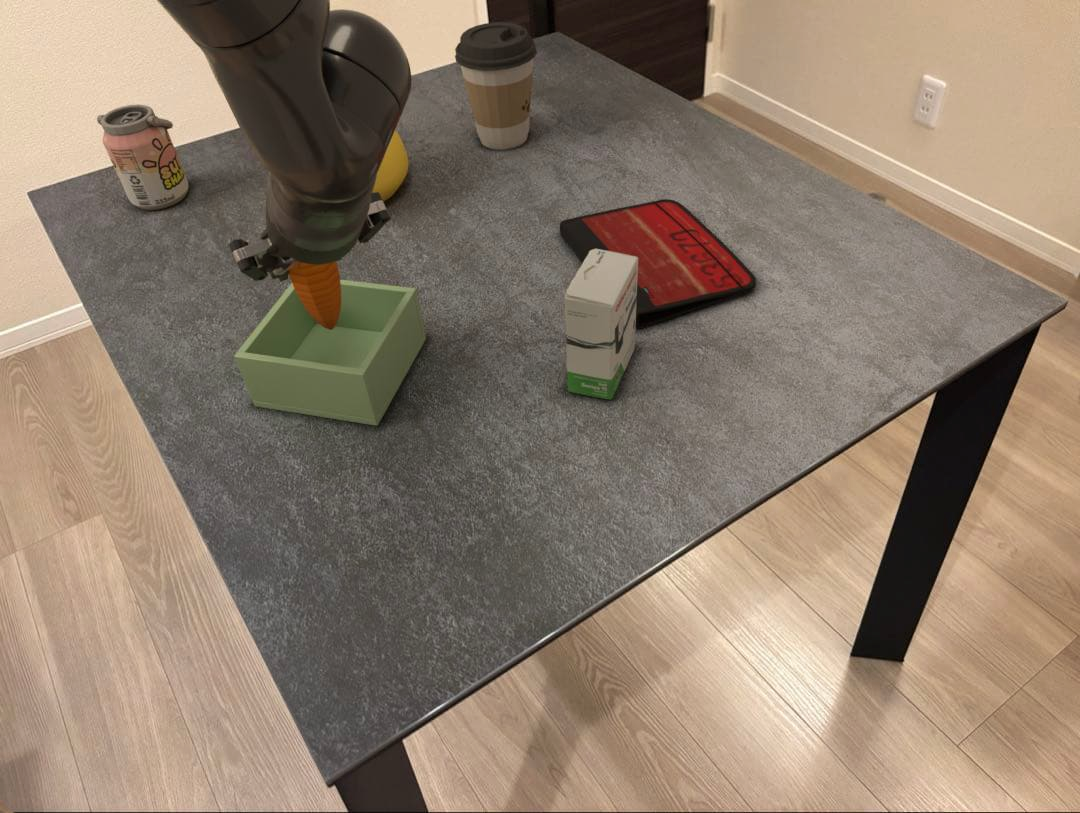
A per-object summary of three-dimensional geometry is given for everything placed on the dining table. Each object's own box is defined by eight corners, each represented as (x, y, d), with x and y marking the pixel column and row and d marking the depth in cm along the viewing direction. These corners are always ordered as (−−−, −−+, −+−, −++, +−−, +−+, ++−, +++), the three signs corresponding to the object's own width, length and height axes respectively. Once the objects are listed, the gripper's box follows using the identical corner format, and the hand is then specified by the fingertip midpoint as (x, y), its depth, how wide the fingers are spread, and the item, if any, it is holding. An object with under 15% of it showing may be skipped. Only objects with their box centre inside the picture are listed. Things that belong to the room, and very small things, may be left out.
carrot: (351, 343, 81) (312, 209, 71) (301, 346, 81) (255, 212, 71) (359, 312, 85) (323, 180, 74) (312, 314, 85) (269, 182, 74)
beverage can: (151, 177, 120) (117, 97, 112) (205, 179, 119) (174, 98, 111) (119, 211, 114) (80, 129, 106) (175, 213, 113) (140, 130, 104)
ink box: (612, 402, 81) (612, 306, 73) (565, 392, 83) (560, 296, 75) (637, 347, 87) (640, 252, 79) (592, 338, 89) (591, 244, 80)
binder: (636, 313, 87) (558, 219, 101) (635, 331, 89) (558, 235, 103) (766, 278, 91) (673, 192, 106) (762, 295, 93) (671, 208, 107)
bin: (377, 426, 81) (363, 375, 76) (254, 406, 84) (233, 356, 79) (426, 338, 90) (416, 288, 85) (314, 323, 93) (298, 274, 89)
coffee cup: (541, 154, 118) (535, 48, 108) (462, 158, 119) (448, 53, 108) (542, 118, 126) (536, 16, 116) (468, 122, 127) (455, 21, 116)
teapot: (283, 152, 124) (256, 60, 114) (401, 133, 126) (384, 41, 116) (284, 241, 106) (251, 141, 96) (420, 217, 108) (402, 117, 98)
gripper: (383, 129, 65) (359, 201, 81) (204, 186, 61) (216, 250, 77) (422, 217, 66) (390, 271, 82) (247, 280, 61) (250, 324, 77)
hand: (306, 260), depth 79 cm, fingers closed on carrot, 5 cm apart
